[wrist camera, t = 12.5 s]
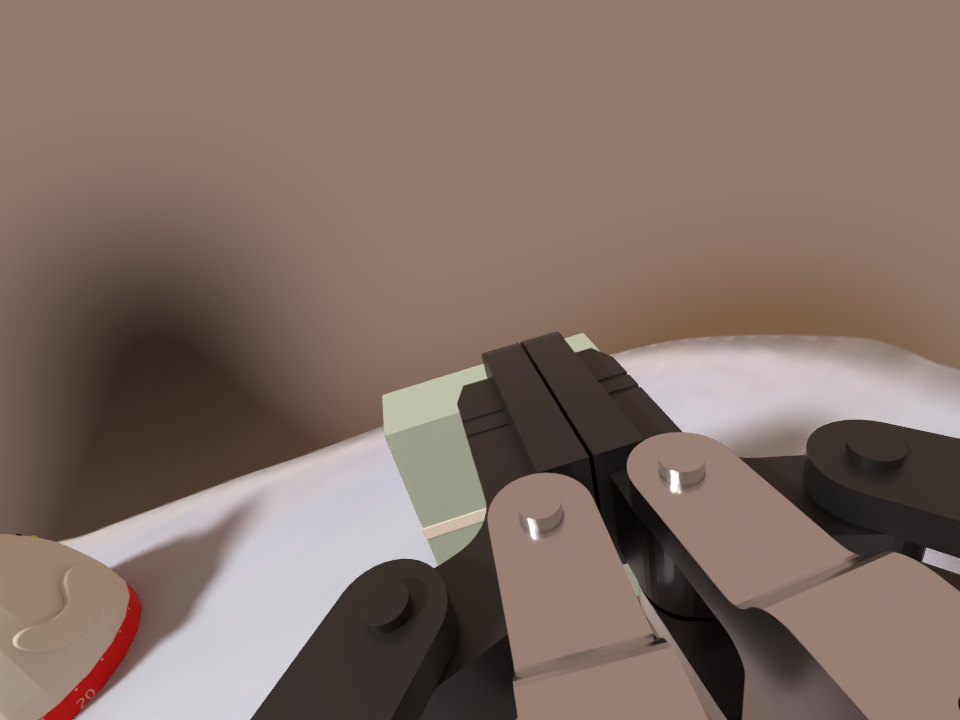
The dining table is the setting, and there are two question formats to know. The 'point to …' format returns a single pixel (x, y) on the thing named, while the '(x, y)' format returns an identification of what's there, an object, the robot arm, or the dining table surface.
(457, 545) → the green box
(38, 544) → the kitchen timer
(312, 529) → the dining table surface
